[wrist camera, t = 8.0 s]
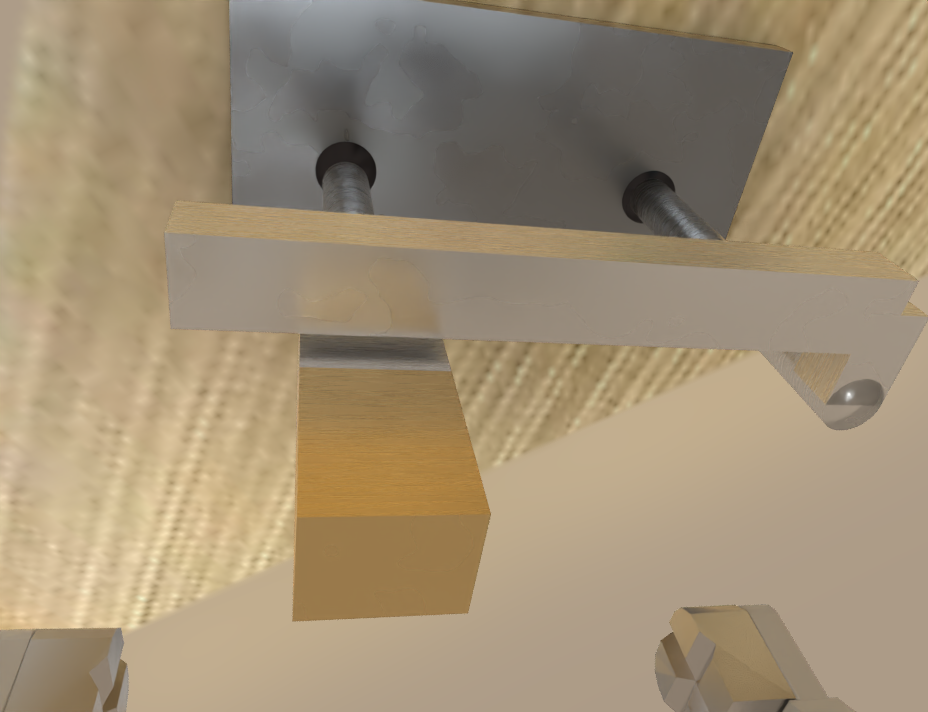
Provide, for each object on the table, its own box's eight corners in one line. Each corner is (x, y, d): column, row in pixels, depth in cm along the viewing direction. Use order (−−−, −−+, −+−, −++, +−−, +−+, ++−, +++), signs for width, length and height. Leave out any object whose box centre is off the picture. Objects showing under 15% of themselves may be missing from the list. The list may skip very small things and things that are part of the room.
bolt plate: (776, 45, 29) (793, 52, 28) (681, 316, 35) (693, 329, 34) (231, -32, 24) (228, -27, 23) (236, 294, 31) (233, 309, 30)
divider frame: (693, 111, 28) (948, 282, 17) (661, 217, 31) (866, 430, 19) (229, 57, 25) (164, 232, 13) (232, 183, 27) (177, 422, 16)
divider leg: (389, 148, 27) (490, 514, 12) (383, 211, 28) (467, 613, 13) (303, 140, 26) (296, 517, 11) (300, 205, 27) (292, 621, 12)
